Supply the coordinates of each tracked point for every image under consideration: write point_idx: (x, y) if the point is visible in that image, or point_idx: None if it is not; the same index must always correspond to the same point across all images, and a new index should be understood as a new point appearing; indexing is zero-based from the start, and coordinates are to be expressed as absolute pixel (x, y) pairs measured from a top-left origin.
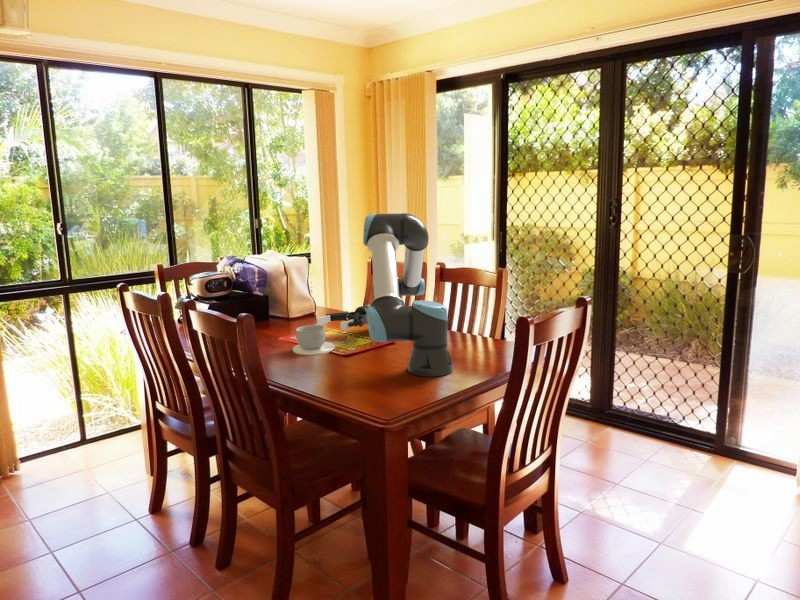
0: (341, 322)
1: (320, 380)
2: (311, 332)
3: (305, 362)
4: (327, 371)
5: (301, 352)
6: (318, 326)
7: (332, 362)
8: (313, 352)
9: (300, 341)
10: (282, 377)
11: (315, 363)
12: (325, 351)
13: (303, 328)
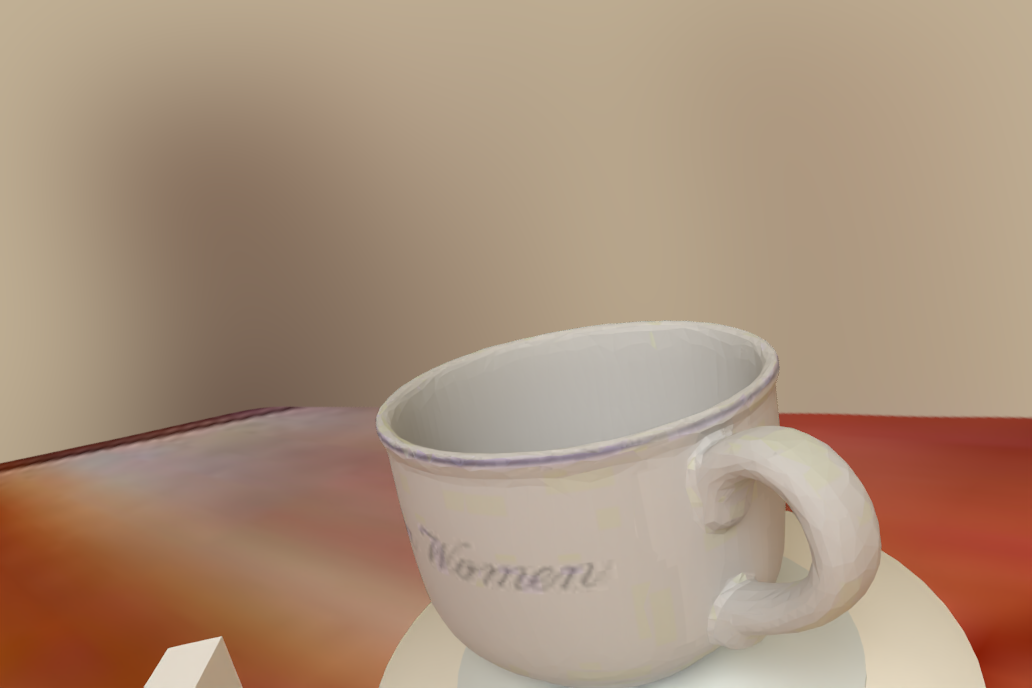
0: (197, 655)
1: (81, 505)
2: (430, 385)
3: (367, 522)
4: (99, 559)
5: None
6: (634, 453)
7: (149, 643)
8: None
9: (575, 437)
10: (301, 425)
11: (279, 556)
12: (384, 683)
13: (756, 375)
